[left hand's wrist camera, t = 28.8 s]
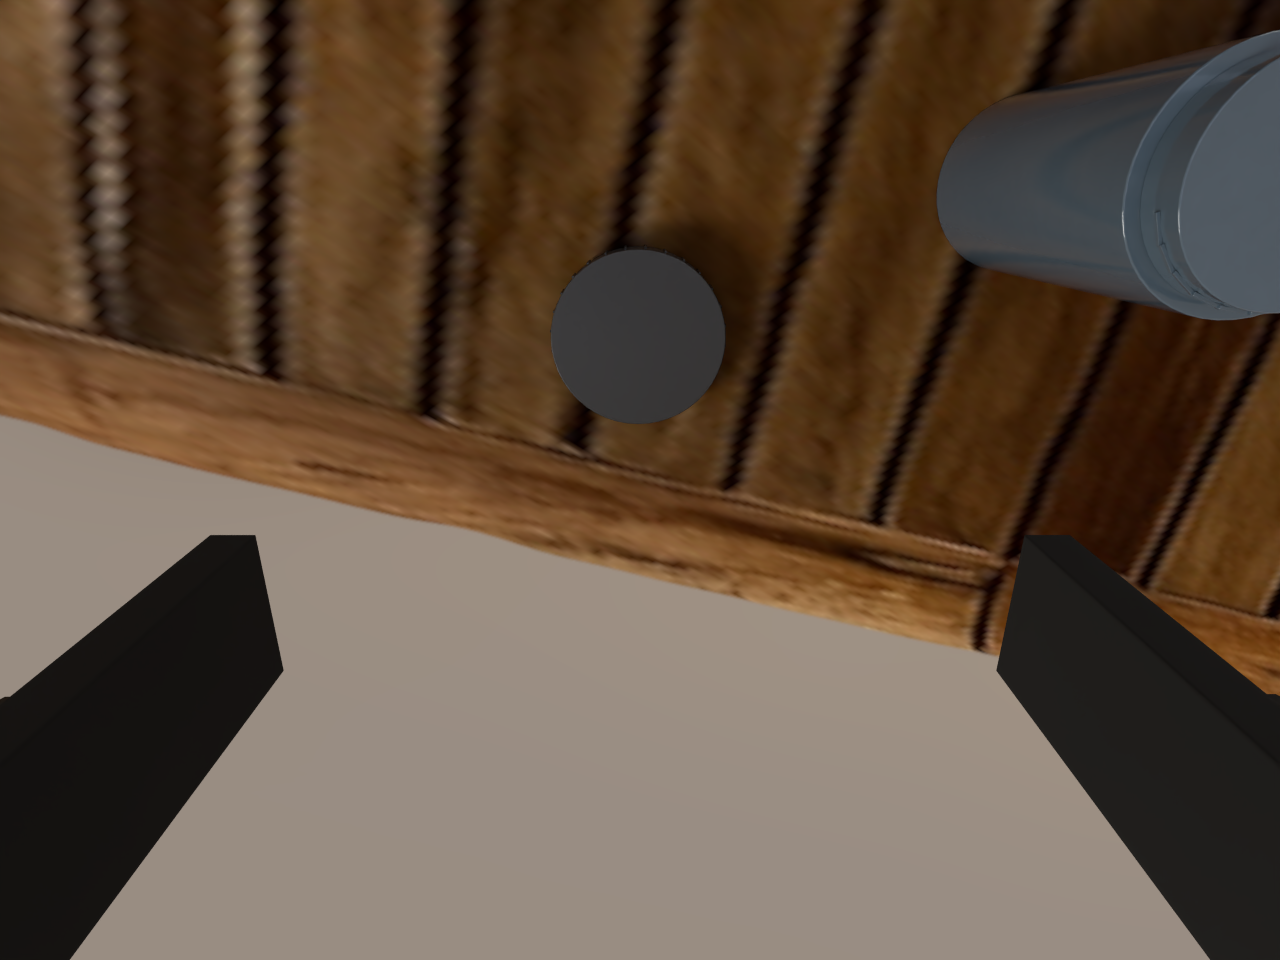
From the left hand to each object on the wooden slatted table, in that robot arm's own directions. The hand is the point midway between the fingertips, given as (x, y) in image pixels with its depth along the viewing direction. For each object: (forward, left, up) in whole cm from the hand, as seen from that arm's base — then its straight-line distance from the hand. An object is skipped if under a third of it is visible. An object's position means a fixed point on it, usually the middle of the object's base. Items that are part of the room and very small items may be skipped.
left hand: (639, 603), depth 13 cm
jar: (-10, +17, -28) cm, 34 cm away
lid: (0, 0, -26) cm, 26 cm away
